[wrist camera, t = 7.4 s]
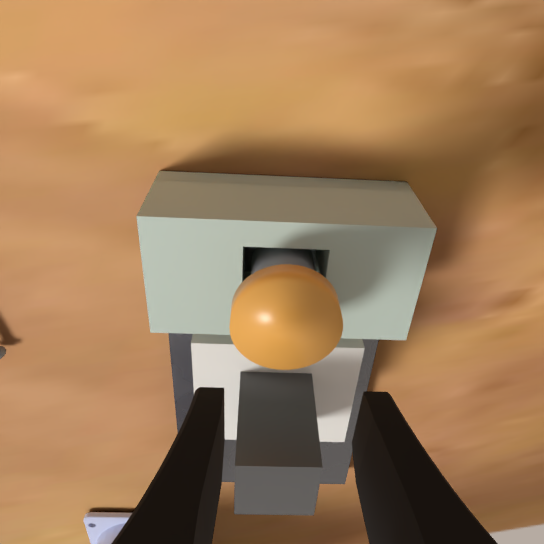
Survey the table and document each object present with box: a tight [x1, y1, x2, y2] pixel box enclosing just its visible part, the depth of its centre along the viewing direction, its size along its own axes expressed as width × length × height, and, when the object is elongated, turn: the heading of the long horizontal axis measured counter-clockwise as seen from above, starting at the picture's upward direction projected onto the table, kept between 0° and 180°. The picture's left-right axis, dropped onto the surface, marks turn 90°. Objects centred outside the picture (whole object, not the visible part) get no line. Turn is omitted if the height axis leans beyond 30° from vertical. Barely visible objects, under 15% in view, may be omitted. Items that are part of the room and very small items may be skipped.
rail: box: [169, 181, 407, 484], centre depth 23 cm, size 20×10×2 cm, turn 177°
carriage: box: [191, 334, 365, 515], centre depth 19 cm, size 6×7×6 cm
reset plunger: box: [229, 247, 343, 370], centre depth 17 cm, size 4×4×4 cm
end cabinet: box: [137, 171, 437, 340], centre depth 19 cm, size 5×10×4 cm, turn 87°
